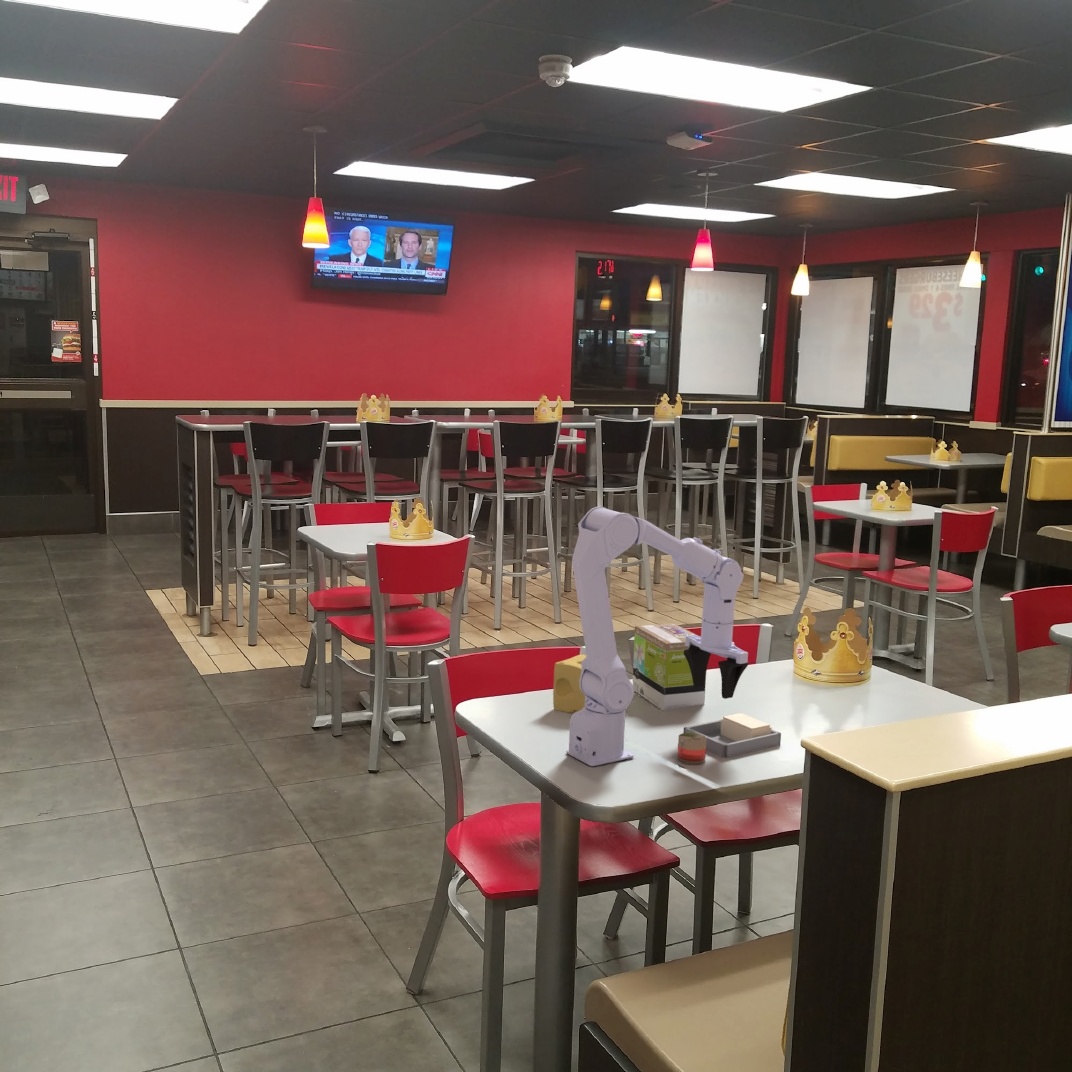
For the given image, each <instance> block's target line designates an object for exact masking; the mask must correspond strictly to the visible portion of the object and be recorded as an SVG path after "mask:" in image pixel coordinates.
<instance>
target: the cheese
mask: <svg viewBox="0 0 1072 1072" xmlns="http://www.w3.org/2000/svg"><path fill="white" fill-rule="evenodd" d="M586 656H587V655H586V654H583V653H582V654H578V655H575V656H573V657H571V658H567V659H564V660H561V661H557V662H555V663H554V667H553V668H554V669H553V691H552V692H553V693H552V695H553V696H552V700H553V704H552V705H553V709H554V710H556V711H560V712H564V713H568V714H574V713H575V712H577V711H580V710H581V709H583V708H584V706H585V695H584V694H583V693H582V691H581V689H580V686H579V680H580V676H581V672H582V667H581V662H582V660H584V659H585V658H586Z"/></svg>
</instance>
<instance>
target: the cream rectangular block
mask: <svg viewBox="0 0 1072 1072" xmlns="http://www.w3.org/2000/svg"><path fill="white" fill-rule="evenodd" d="M720 720H721V735H723V736H725V737H728V738H730V739H732V740H735V741H742V740H746V739H750V738H755V737H759V736H764V735H768V734H771V729H772V727H771V724H769V723H767V722H764V721H762V720H759V719H757V718H755V717H751V716H749V715H747V714H745V713H741V712H740V713H739V712H738V713H734V714H731V715H730V714H729V715H725V716H723V717H722V718H721V719H720Z"/></svg>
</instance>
